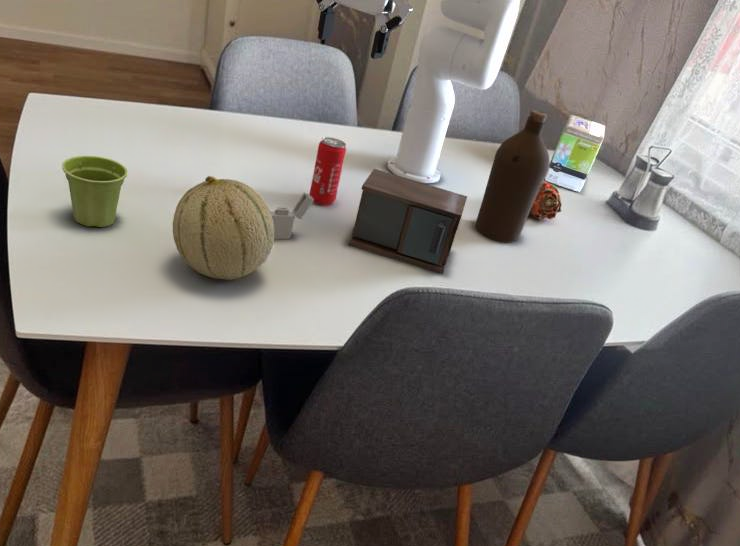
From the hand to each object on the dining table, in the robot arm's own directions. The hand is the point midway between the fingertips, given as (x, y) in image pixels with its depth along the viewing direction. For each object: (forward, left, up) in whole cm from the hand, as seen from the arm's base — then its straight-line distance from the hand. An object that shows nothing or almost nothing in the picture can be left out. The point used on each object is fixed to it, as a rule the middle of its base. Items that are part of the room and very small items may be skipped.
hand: (350, 48), depth 112 cm
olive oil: (-31, +26, -31) cm, 51 cm away
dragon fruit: (-49, +29, -31) cm, 65 cm away
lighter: (+8, -1, -31) cm, 32 cm away
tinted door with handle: (-1, +21, -30) cm, 36 cm away
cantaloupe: (+27, -1, -31) cm, 41 cm away
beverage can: (-11, -5, -31) cm, 34 cm away
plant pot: (+29, -24, -31) cm, 49 cm away
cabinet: (-7, +15, -31) cm, 35 cm away
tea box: (-83, +28, -31) cm, 93 cm away
